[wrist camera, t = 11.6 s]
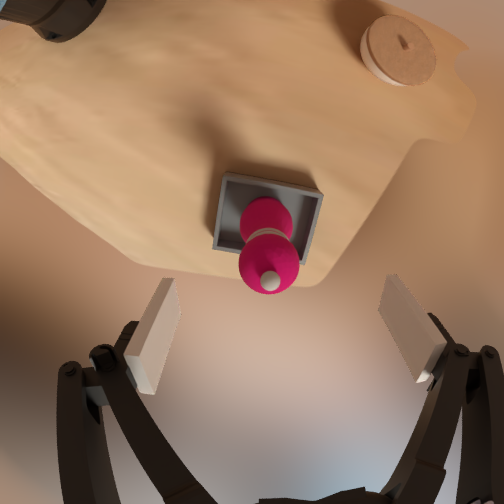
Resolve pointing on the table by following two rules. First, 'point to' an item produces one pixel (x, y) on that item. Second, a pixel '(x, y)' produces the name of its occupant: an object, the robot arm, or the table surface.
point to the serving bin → (249, 188)
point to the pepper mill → (267, 246)
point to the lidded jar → (398, 51)
